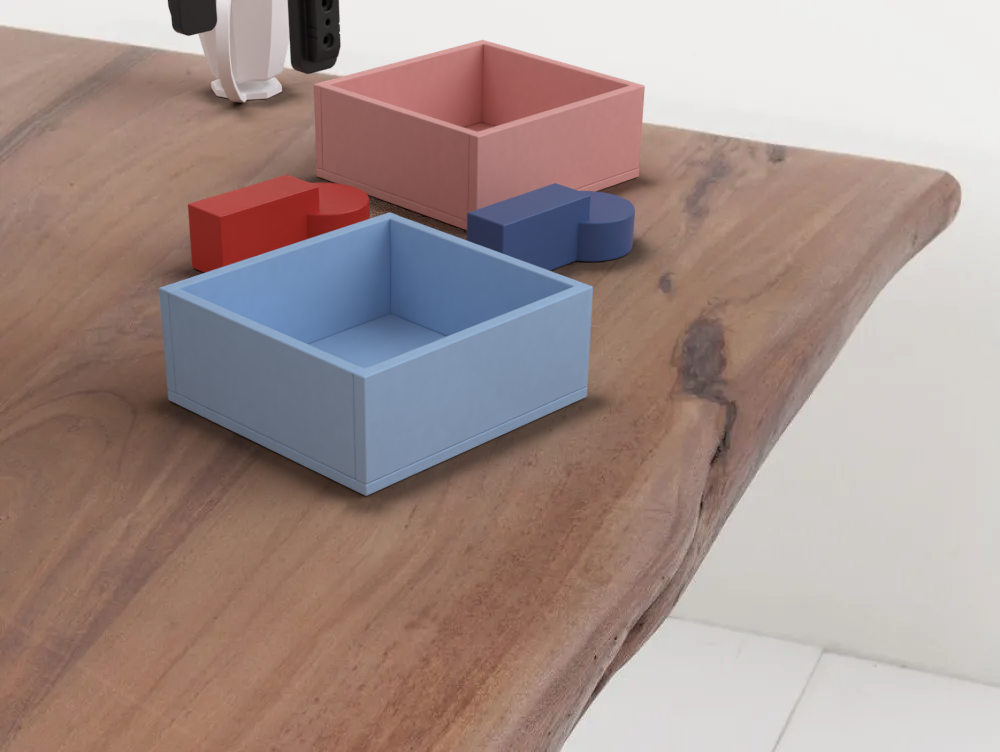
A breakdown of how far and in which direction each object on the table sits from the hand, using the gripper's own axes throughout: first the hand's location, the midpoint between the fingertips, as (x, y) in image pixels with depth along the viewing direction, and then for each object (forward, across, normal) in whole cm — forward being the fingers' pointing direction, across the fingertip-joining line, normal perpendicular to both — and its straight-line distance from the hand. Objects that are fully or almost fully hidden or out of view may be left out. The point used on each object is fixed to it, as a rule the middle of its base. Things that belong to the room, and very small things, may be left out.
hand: (253, 50), depth 88 cm
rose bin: (+10, -2, +17) cm, 20 cm away
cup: (+10, -22, +17) cm, 29 cm away
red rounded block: (+10, -1, +2) cm, 10 cm away
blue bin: (+10, +16, -7) cm, 20 cm away
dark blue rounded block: (+10, +9, +11) cm, 18 cm away
